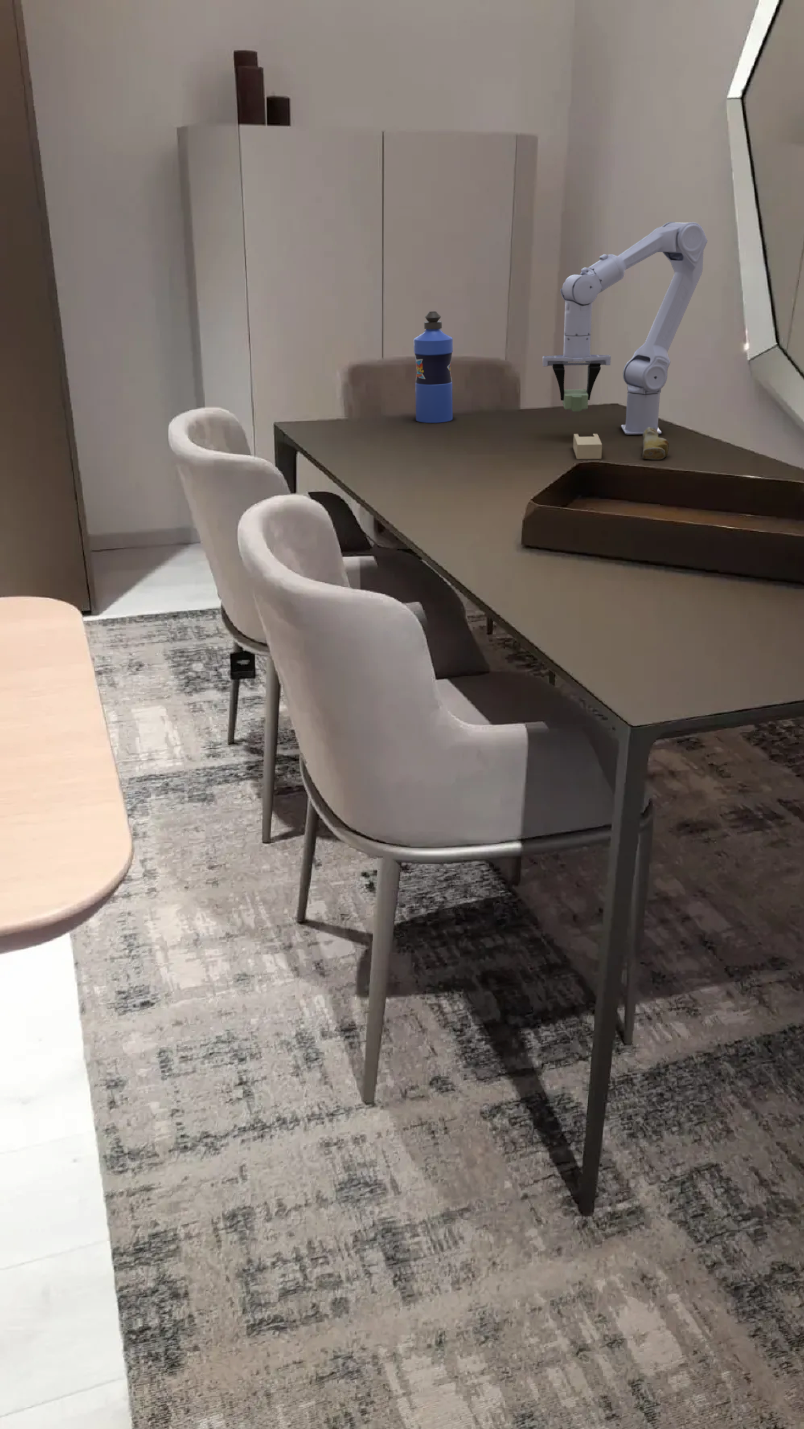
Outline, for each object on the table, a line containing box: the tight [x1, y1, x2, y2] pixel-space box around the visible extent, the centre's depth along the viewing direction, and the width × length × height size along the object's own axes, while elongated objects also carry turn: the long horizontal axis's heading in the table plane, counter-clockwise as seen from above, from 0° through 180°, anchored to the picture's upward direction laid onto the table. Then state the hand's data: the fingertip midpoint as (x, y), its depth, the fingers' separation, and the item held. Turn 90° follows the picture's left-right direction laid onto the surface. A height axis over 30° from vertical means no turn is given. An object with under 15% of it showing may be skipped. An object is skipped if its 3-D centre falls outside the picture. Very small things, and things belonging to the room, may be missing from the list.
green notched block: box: [562, 388, 589, 412], centre depth 241 cm, size 10×5×3 cm, turn 175°
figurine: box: [641, 427, 670, 461], centre depth 229 cm, size 5×5×15 cm
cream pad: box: [572, 433, 603, 460], centre depth 230 cm, size 11×5×3 cm, turn 176°
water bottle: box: [413, 310, 454, 424], centre depth 266 cm, size 9×9×25 cm
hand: (574, 399), depth 242 cm, fingers closed on green notched block, 5 cm apart
